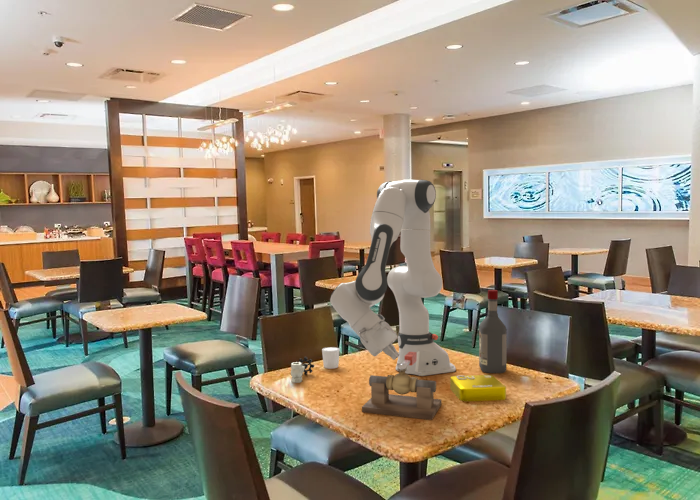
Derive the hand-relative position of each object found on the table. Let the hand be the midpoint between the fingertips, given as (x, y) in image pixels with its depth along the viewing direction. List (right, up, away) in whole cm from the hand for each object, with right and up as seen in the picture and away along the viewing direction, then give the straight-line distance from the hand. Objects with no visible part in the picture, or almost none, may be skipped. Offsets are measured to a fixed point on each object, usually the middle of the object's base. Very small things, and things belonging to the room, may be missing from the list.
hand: (397, 357), depth 177 cm
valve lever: (+3, -2, -5) cm, 6 cm away
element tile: (+26, -13, +3) cm, 29 cm away
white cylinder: (-22, -11, +38) cm, 45 cm away
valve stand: (+1, -13, -10) cm, 17 cm away
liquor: (+38, -11, +30) cm, 50 cm away
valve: (-33, -12, +23) cm, 42 cm away
